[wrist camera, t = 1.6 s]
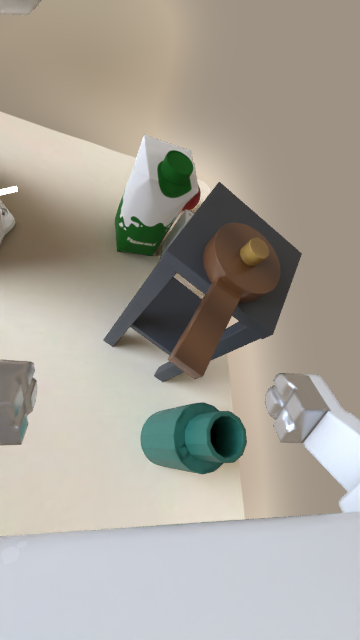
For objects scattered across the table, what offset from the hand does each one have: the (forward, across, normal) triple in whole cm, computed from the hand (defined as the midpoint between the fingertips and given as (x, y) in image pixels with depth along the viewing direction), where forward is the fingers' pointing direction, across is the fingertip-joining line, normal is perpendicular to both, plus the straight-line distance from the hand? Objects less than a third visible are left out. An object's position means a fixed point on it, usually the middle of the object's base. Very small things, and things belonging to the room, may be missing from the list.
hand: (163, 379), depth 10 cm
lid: (+14, -7, +5) cm, 16 cm away
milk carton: (+48, 0, +14) cm, 50 cm away
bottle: (+18, -7, +33) cm, 38 cm away
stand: (+32, -4, +24) cm, 40 cm away
